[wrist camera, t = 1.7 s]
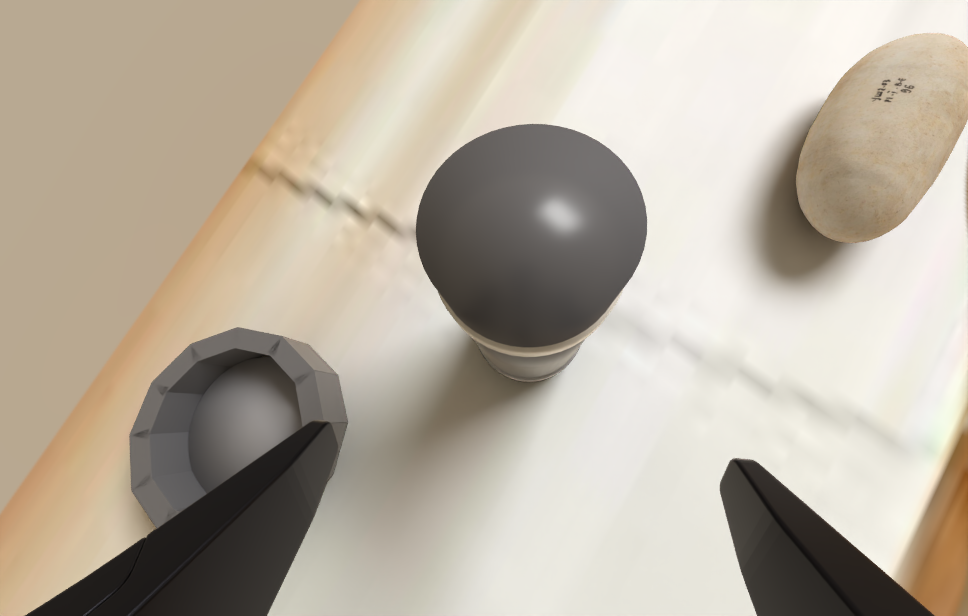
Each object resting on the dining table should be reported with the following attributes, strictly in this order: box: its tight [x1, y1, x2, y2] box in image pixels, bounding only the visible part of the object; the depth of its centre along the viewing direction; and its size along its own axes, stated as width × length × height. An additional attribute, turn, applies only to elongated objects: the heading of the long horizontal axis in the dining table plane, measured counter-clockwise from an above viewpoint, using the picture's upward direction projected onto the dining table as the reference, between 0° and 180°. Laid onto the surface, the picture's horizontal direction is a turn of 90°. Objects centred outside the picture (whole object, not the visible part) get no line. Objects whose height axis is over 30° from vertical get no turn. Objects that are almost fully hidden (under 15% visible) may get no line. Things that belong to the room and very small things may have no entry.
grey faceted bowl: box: [129, 327, 348, 528], centre depth 20 cm, size 10×10×3 cm
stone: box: [796, 33, 968, 243], centre depth 19 cm, size 6×6×12 cm
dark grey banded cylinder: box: [416, 124, 647, 382], centre depth 15 cm, size 5×5×13 cm
